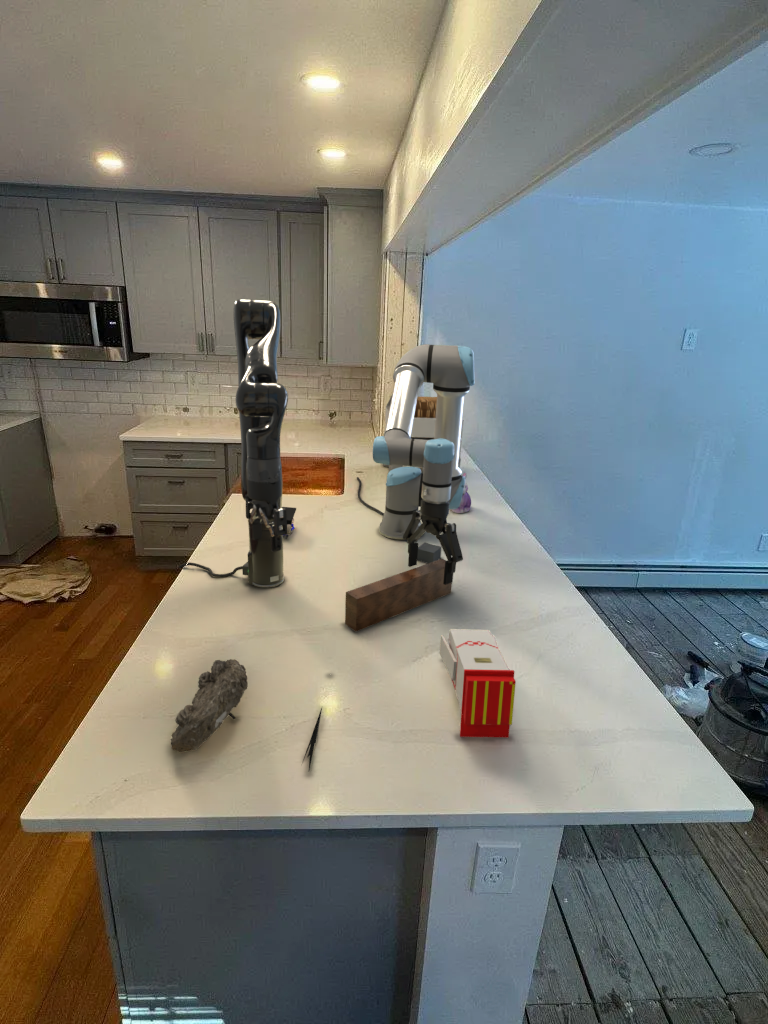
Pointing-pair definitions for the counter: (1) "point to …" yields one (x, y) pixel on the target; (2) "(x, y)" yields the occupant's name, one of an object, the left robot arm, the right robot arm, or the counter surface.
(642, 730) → the counter surface
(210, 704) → the fossil
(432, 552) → the grey block
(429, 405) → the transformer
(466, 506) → the figurine
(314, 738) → the feather
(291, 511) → the figurine character
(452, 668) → the toy
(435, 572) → the walnut bar
